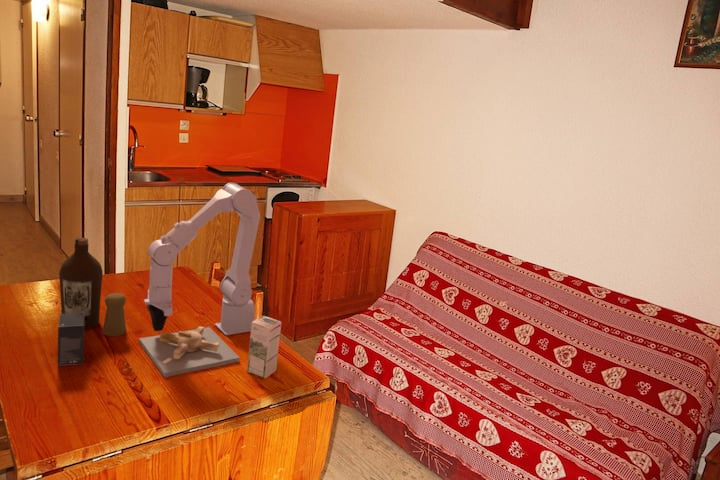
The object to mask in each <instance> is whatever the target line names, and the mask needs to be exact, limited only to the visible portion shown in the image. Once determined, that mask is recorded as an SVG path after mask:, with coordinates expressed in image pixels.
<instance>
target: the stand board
mask: <svg viewBox="0 0 720 480" xmlns="http://www.w3.org/2000/svg"><path fill="white" fill-rule="evenodd" d="M196 329H197V328H196ZM196 329H191V330H189V329H188V331H195V330H196ZM186 331H187V330H184V332H186ZM170 334H175V335H178V334H179V331H178V332H176V331H175V332H172V333H170ZM201 339H202V340H207V341H212V342H218V343H219V350H218V351H217V352H215V351H210V350H205V349H199V350H198V351H195V352H185V353H184V354H183V355H182V356H181V357H180V358H179V359H175V358H174V351H175V350H176V349H177V348H178V344H173V343H168V342H162V341H160V334H159V335H152V336H146V337H140V338H139V340H138V341H139V342H138V343H139V344H140V346H141V347H142V349H143V350H144V351H145V353H146V354H147V355H148V357H149V359H150V360H151V361H152V362H153V364H154V365H155V367H157V369H158V371H159V372H160V373H161V375H162V376H163V378H168V377H173V376H178V375H181V374H186V373H187V374H188V373H192V372H197V371H201V370H206V369H212V368H215V367H221V366H225V365H229V364H230V365H231V364H234V363H238V362H240V356H239V355H238V354H237V353H236V352H235V351H234V350H233V349H232V348H231V347H230V346H229V345H228V344H227V343H226V342H225V341H224V340H223V339H222V338H221V337H220V336H219V335H218V334H217V333H216V332H215V331H214V330H213V329H212V328H211V327H210V326H207V327H204V334H203V335H202V337H201Z"/></svg>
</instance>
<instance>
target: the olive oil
mask: <svg viewBox="0 0 720 480" xmlns="http://www.w3.org/2000/svg"><path fill="white" fill-rule="evenodd" d="M58 272H59V274H58V275H59V277H58V278H59V287H60V289H59V290H60V291H59V292H60V307H61V308H60V310H61V311H60V312H61V313H60V314H66V313H84V315H85V316H84V331H86V330H90V329H93V328H96V327H97V326H98V325H99V324H100V310H101V297H102V285H103V284H102V283H103V268H102V265H101V262H100V261H99V260H98V259H96V258H95V257H94V256H93V255H92V254H91V253H90V252H89V238H87V237H77V238H75V239H74V252H73V253H72V254H71V255H70V256H69V257H68V258H66V259H65V260H64V261H63V262H62V264H61V265H60V269H59V271H58Z"/></svg>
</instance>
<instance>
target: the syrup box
mask: <svg viewBox="0 0 720 480" xmlns="http://www.w3.org/2000/svg"><path fill="white" fill-rule="evenodd" d="M281 328H282V321H280V320H277V319H275V318H272V317H270V316H266V315H262V316H259V317H258V318H256V319H254V321H253V322H252V325H251V331H250V338H249V347H248V348H249V349H248V360H247V370H246V371H247V373H250V374H252V375H255V376H257V377H259V378H261V379H266V378H268V377H269V376H271V375H272V374H274V373H275V372H276V371H277V366H278V354H279V349H280V348H279V346H280V337H281V330H282V329H281Z"/></svg>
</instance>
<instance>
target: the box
mask: <svg viewBox="0 0 720 480" xmlns="http://www.w3.org/2000/svg"><path fill="white" fill-rule="evenodd" d="M84 316H85V315H84V313H66V314H61V313H60V314H59V320H58V325H57V328H58V329H57V366H58V367H60V366H61V367H62V366H74V365H75V366H77V365H83V364H84V355H85V354H84V353H85V352H84V351H85V350H84V349H85V330H84Z"/></svg>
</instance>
